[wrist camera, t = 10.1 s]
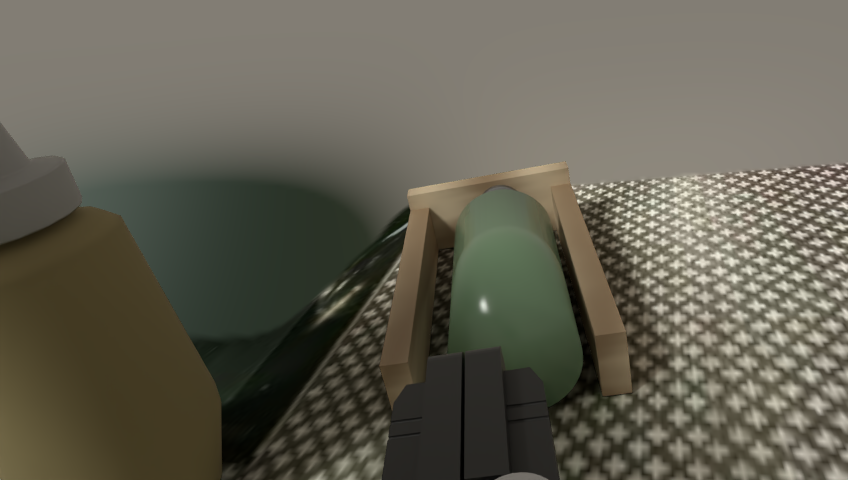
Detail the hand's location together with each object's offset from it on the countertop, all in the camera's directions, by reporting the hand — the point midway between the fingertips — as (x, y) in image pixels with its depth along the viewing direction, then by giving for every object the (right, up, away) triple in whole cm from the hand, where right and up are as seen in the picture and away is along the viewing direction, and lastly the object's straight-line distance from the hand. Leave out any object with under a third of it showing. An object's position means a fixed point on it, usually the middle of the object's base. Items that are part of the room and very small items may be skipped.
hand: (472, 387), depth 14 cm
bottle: (+3, -2, +13) cm, 14 cm away
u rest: (+3, 0, +23) cm, 23 cm away
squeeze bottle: (-12, -8, +14) cm, 20 cm away
